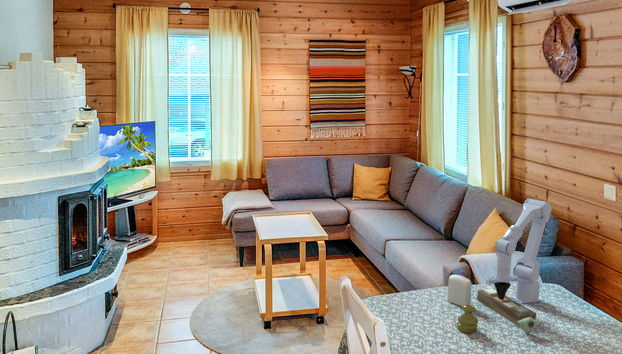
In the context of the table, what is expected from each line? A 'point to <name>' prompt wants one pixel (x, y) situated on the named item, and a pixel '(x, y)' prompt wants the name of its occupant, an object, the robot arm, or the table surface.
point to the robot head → (528, 324)
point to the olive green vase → (467, 320)
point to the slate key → (521, 309)
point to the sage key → (510, 304)
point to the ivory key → (490, 292)
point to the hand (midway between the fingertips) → (500, 298)
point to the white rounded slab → (459, 290)
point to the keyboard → (504, 307)
